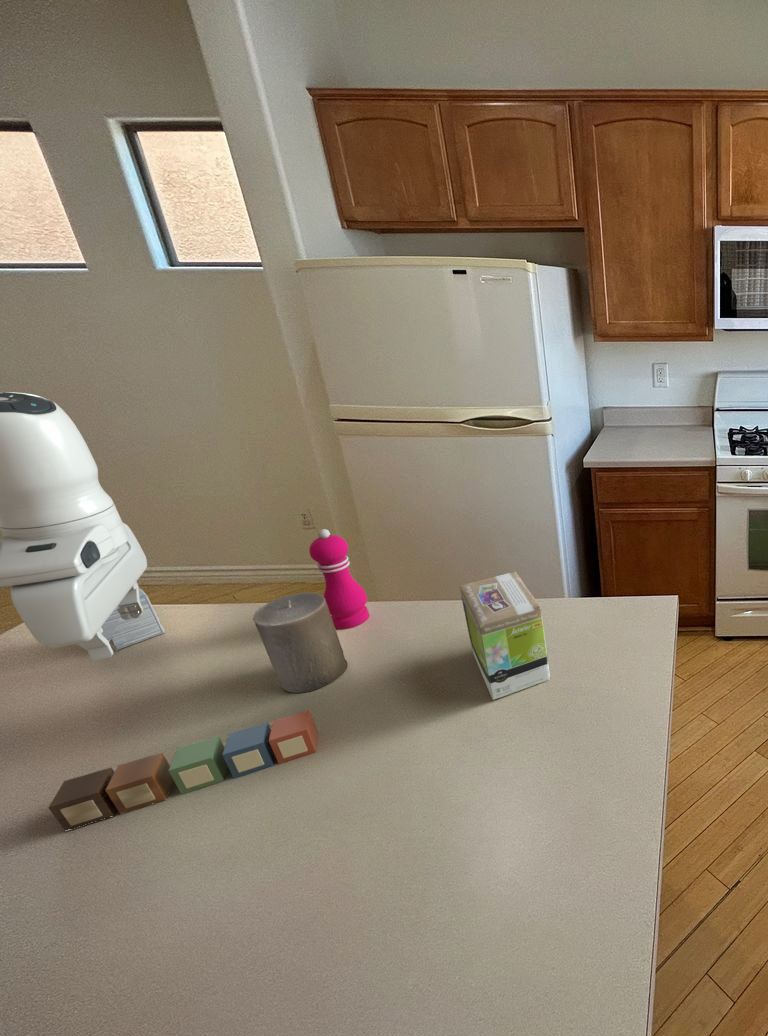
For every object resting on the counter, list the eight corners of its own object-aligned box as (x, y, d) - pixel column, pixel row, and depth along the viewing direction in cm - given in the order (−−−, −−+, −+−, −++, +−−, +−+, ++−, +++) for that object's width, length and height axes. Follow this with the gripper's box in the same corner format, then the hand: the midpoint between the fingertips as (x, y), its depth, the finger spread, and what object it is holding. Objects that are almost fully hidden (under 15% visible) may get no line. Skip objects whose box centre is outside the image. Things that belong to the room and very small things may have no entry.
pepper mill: (333, 614, 112) (304, 524, 103) (374, 607, 114) (348, 519, 106) (326, 634, 106) (294, 540, 97) (369, 625, 108) (342, 534, 100)
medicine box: (159, 625, 108) (141, 587, 104) (166, 633, 105) (147, 594, 102) (102, 645, 102) (80, 605, 98) (108, 654, 99) (85, 614, 96)
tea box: (552, 679, 95) (542, 606, 88) (492, 702, 89) (476, 627, 83) (526, 635, 106) (515, 568, 100) (471, 653, 101) (456, 584, 95)
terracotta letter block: (278, 764, 78) (268, 741, 76) (282, 742, 81) (273, 720, 80) (315, 752, 80) (306, 730, 78) (318, 732, 83) (309, 709, 82)
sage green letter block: (181, 795, 73) (167, 771, 71) (190, 770, 77) (177, 747, 75) (223, 781, 75) (211, 758, 73) (230, 758, 79) (219, 735, 77)
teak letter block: (120, 815, 70) (104, 791, 68) (132, 789, 74) (117, 765, 72) (165, 801, 72) (151, 776, 70) (175, 775, 76) (162, 752, 74)
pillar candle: (353, 652, 101) (330, 581, 94) (338, 687, 92) (312, 612, 86) (291, 662, 98) (263, 590, 92) (270, 699, 89) (237, 622, 83)
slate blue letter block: (233, 779, 75) (221, 755, 74) (239, 756, 79) (228, 733, 77) (273, 766, 77) (262, 743, 76) (277, 744, 81) (267, 721, 79)
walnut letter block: (64, 833, 68) (47, 808, 66) (80, 805, 72) (64, 780, 70) (113, 817, 70) (97, 793, 68) (126, 790, 74) (111, 767, 72)
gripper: (71, 509, 70) (117, 601, 76) (-21, 581, 54) (46, 691, 60) (138, 501, 73) (177, 590, 79) (69, 568, 57) (125, 674, 63)
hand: (120, 635), depth 69 cm, fingers open, 8 cm apart
